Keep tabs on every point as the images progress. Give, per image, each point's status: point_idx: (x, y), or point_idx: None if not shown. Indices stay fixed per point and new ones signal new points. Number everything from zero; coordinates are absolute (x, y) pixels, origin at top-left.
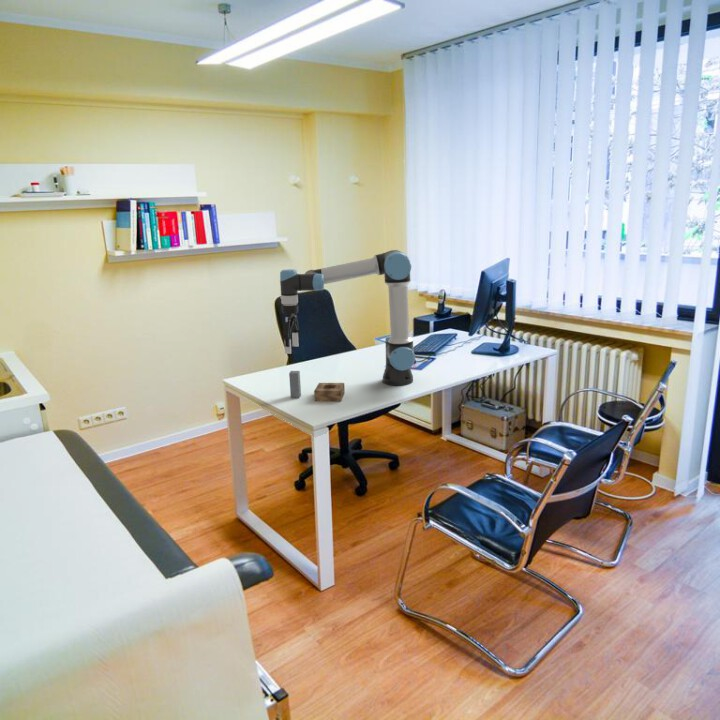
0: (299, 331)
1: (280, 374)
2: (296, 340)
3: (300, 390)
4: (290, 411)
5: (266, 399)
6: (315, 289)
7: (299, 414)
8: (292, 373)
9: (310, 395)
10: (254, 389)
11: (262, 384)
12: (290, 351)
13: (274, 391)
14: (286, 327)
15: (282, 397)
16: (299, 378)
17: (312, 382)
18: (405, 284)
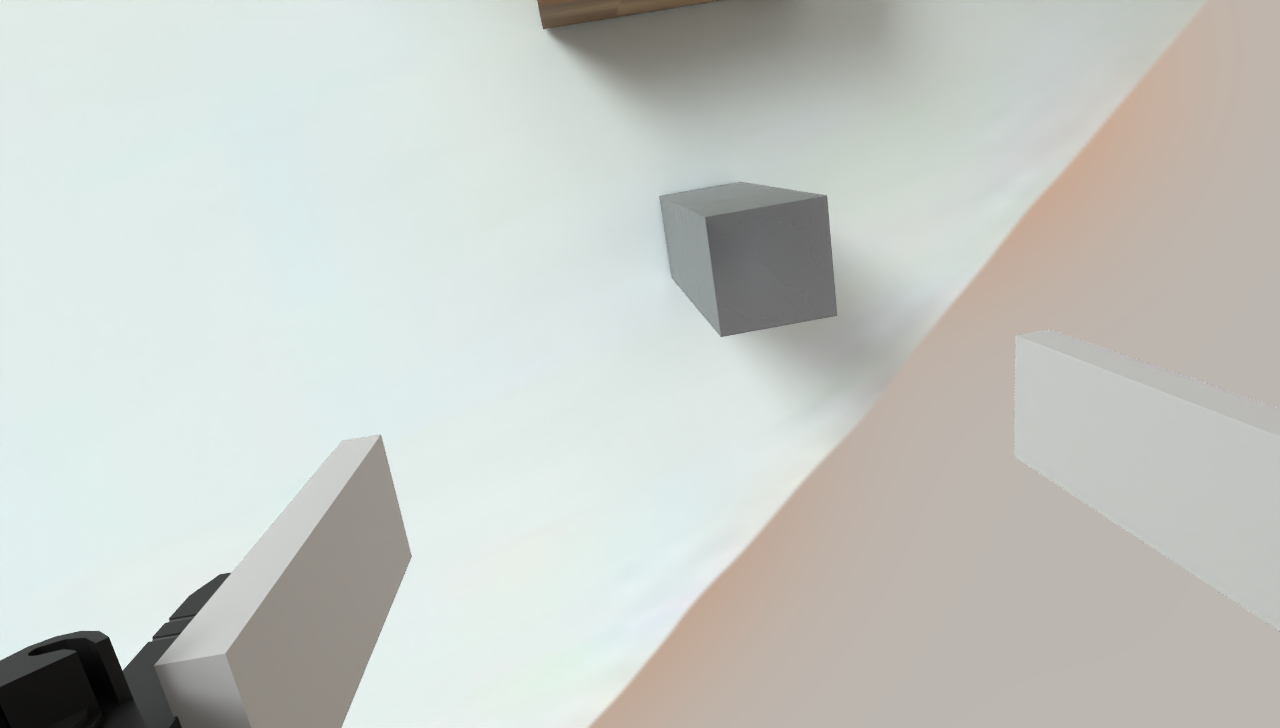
0: (32, 659)
1: None
2: (342, 540)
3: (679, 197)
4: (1073, 129)
5: (796, 459)
6: None
7: (1146, 14)
8: (832, 270)
9: (626, 105)
10: (565, 662)
11: (418, 666)
12: (1084, 347)
13: (581, 487)
14: None
15: (727, 351)
16: (722, 203)
17: (203, 244)
18: None
